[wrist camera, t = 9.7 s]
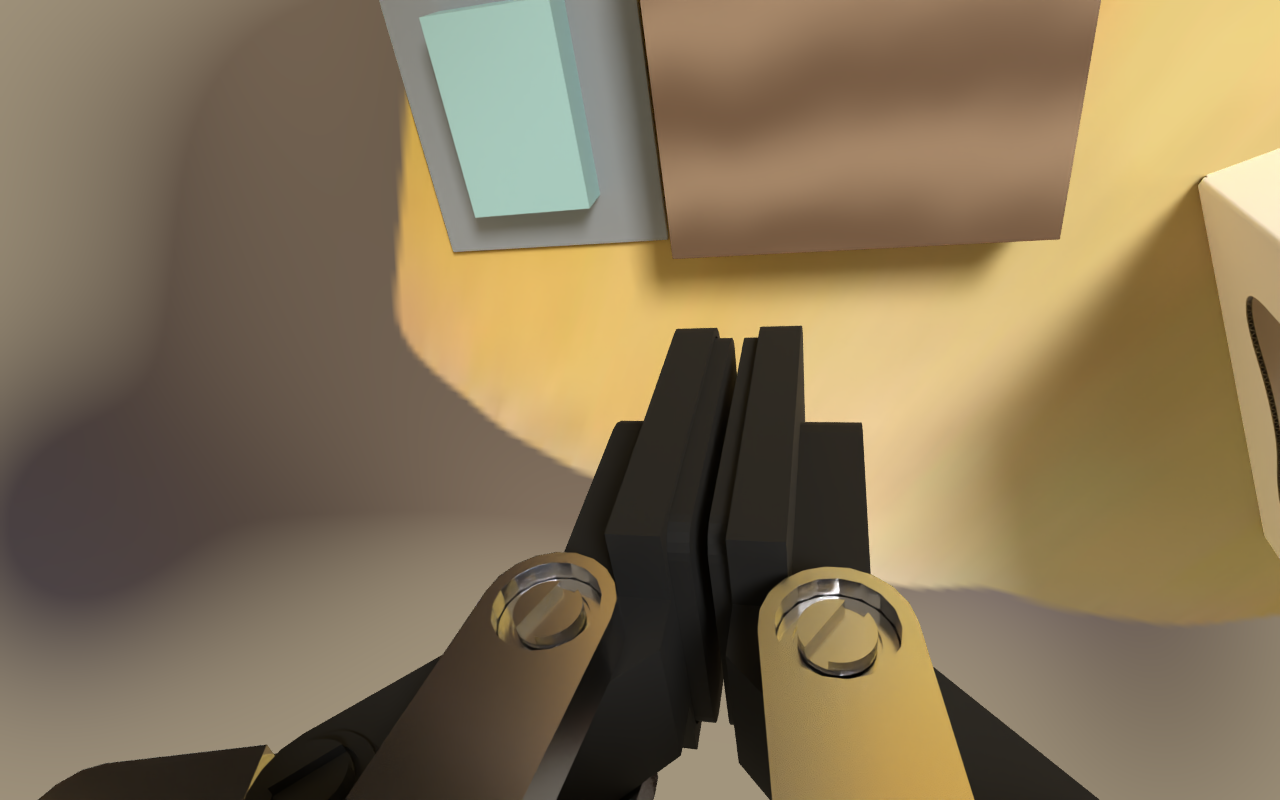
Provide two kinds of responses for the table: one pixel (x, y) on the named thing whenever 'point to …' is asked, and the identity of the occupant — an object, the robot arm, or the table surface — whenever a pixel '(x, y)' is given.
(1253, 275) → the gable box
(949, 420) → the table surface
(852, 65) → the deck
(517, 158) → the block
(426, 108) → the mat
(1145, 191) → the table surface
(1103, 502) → the table surface
